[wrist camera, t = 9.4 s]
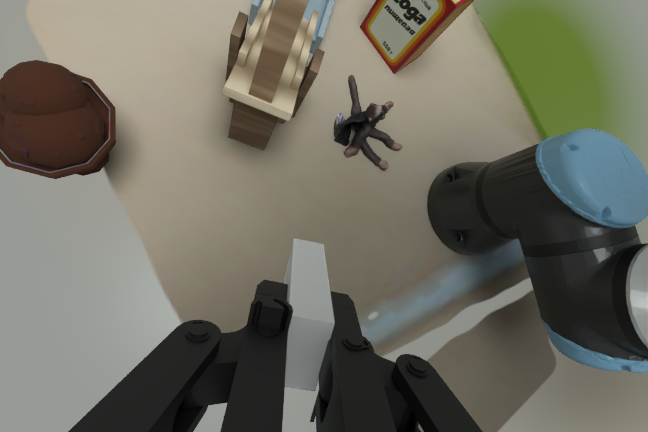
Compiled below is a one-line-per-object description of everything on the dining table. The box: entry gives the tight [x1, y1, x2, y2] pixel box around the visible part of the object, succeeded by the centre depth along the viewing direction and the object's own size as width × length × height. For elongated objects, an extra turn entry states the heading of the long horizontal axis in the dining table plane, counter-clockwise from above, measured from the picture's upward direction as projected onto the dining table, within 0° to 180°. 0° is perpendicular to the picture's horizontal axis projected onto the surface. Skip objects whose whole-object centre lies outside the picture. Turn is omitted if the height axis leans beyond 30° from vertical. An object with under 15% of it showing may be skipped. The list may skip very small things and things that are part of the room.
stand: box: [226, 11, 324, 150], centre depth 44 cm, size 11×10×12 cm
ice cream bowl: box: [0, 60, 115, 179], centre depth 35 cm, size 11×11×15 cm
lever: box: [223, 0, 319, 121], centre depth 37 cm, size 20×7×12 cm, turn 164°
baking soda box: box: [360, 0, 474, 74], centre depth 52 cm, size 10×6×16 cm
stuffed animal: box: [334, 75, 402, 169], centre depth 55 cm, size 12×10×12 cm
